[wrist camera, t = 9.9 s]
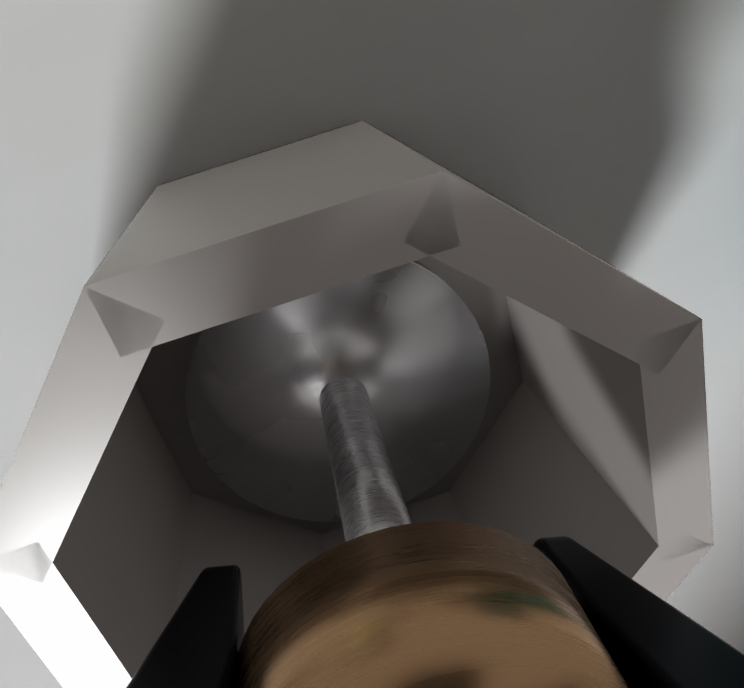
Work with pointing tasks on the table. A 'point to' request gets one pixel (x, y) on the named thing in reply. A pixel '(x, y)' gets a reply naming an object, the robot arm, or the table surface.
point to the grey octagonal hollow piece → (300, 279)
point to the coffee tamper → (379, 496)
